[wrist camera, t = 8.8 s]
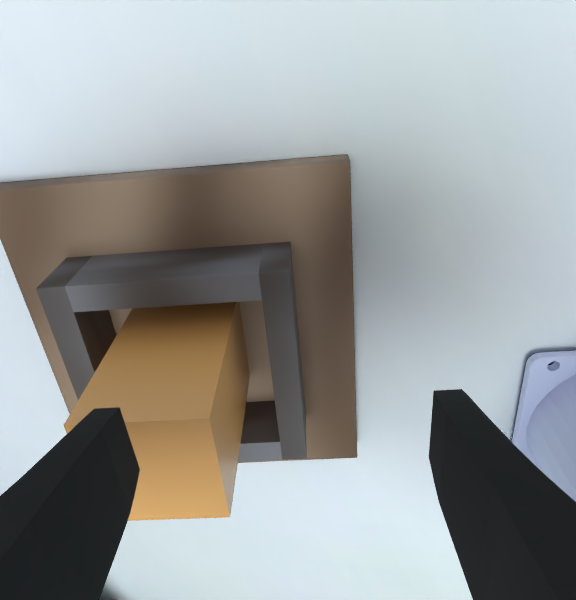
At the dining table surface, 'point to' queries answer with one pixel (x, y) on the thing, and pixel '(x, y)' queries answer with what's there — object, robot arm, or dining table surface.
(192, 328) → the orange rectangular block
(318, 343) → the holder
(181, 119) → the dining table surface
